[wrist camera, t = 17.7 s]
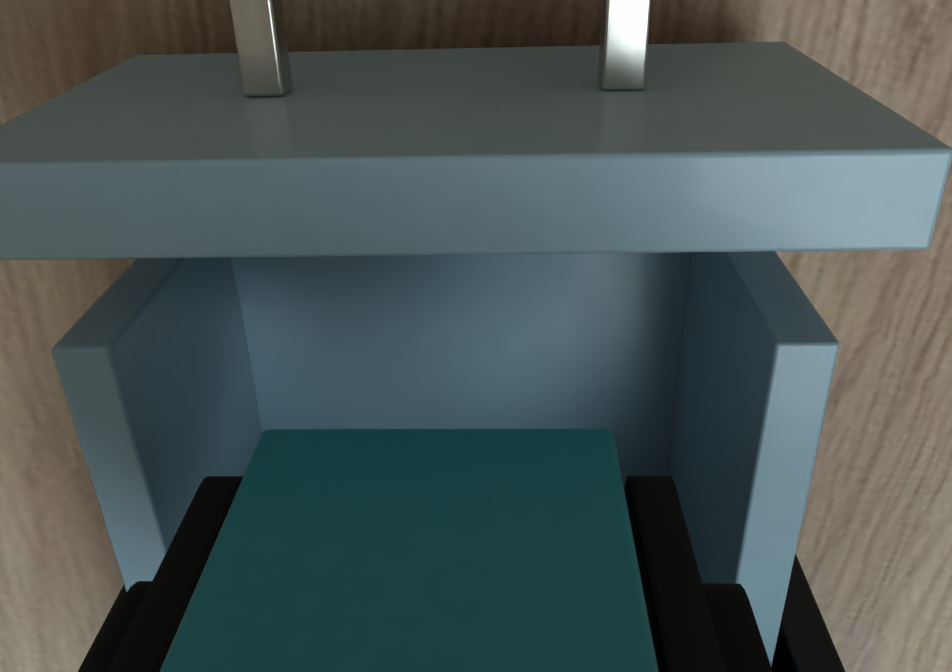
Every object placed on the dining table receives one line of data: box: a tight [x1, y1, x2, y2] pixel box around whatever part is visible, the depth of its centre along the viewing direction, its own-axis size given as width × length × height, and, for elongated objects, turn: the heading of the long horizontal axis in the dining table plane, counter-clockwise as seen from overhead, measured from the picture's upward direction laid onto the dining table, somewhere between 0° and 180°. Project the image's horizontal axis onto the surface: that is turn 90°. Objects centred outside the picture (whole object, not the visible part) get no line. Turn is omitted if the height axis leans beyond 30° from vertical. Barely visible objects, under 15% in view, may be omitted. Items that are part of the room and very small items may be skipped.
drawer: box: [0, 0, 952, 666], centre depth 14 cm, size 20×11×6 cm, turn 1°
